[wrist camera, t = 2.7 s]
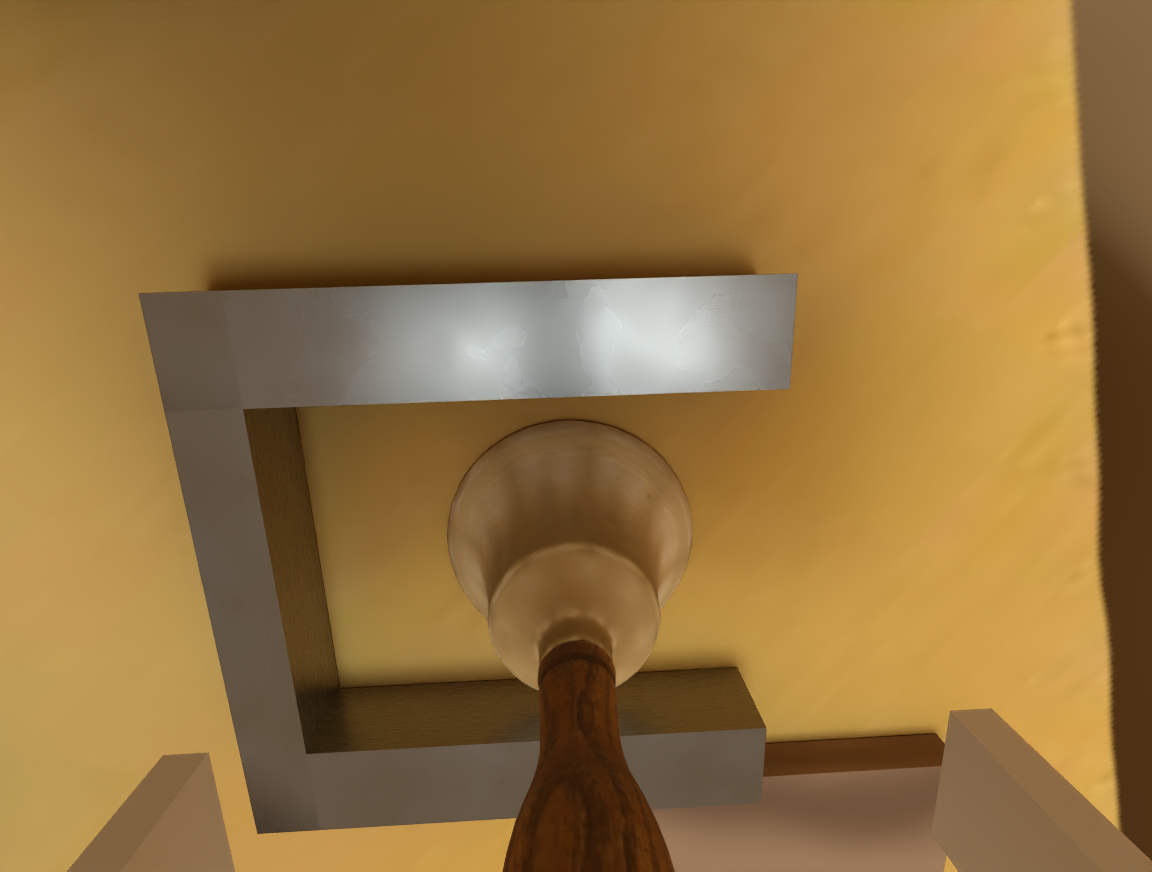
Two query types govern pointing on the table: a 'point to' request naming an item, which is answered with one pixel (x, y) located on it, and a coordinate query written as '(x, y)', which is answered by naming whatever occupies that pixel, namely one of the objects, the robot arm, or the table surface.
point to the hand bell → (574, 622)
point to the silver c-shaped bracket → (289, 549)
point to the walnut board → (822, 812)
